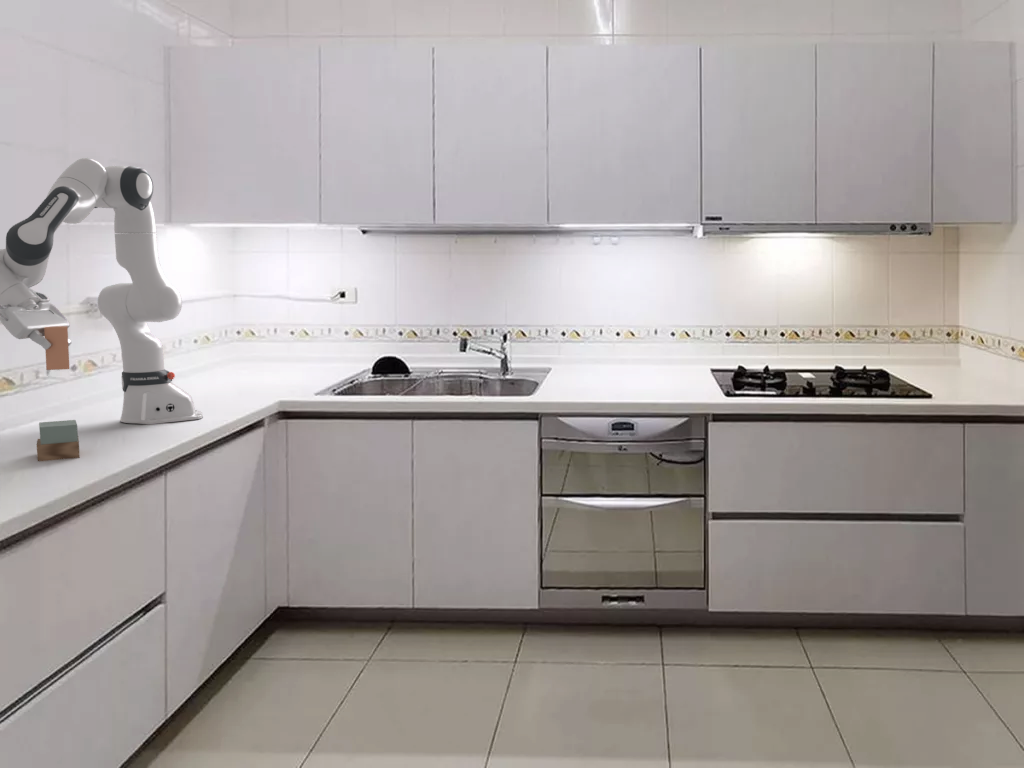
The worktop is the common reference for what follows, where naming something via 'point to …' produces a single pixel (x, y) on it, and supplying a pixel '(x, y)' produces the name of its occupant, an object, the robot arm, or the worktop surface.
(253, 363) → the worktop surface
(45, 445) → the tower base
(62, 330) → the pillar
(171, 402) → the robot arm
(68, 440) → the tower top
